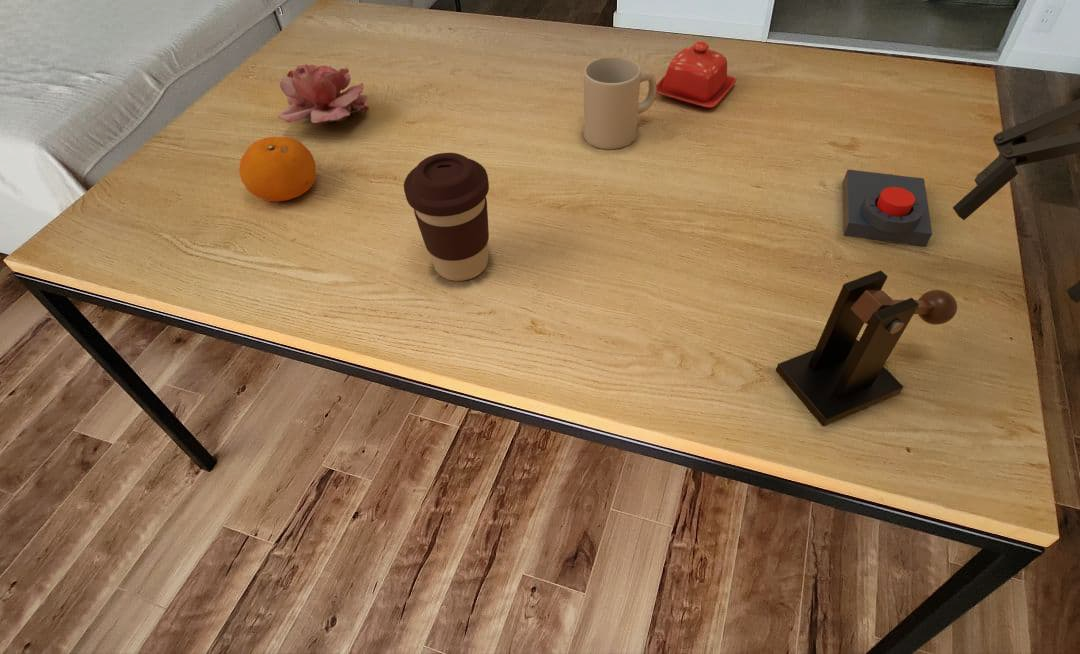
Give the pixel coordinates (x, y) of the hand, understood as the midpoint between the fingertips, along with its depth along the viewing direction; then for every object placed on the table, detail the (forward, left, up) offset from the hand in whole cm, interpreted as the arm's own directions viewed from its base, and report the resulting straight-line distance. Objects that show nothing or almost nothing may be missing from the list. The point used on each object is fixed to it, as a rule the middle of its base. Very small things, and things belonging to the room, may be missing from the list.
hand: (1010, 253), depth 65 cm
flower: (+25, +95, -12) cm, 99 cm away
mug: (+32, +46, -12) cm, 58 cm away
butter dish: (+47, +36, -12) cm, 61 cm away
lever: (-8, +10, -4) cm, 13 cm away
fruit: (+6, +92, -12) cm, 93 cm away
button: (+17, +7, -8) cm, 20 cm away
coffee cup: (-3, +60, -12) cm, 61 cm away
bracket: (-11, +13, -12) cm, 21 cm away
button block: (+20, +7, -12) cm, 25 cm away
